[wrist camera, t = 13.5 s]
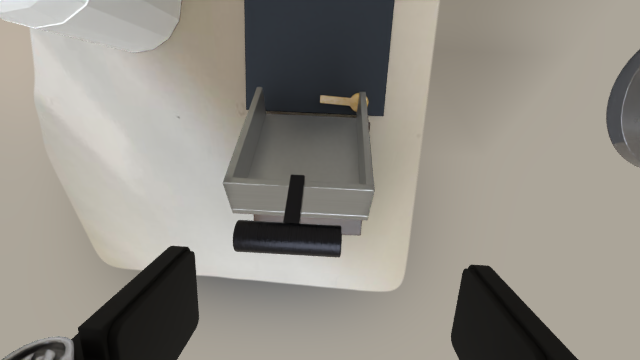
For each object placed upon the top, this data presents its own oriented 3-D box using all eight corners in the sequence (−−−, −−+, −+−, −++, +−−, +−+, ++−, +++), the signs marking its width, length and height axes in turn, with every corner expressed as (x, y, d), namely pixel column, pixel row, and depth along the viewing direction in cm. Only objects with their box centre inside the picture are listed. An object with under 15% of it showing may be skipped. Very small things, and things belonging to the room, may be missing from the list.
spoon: (369, 93, 39) (369, 93, 38) (366, 112, 39) (367, 113, 39) (321, 89, 39) (320, 89, 38) (319, 108, 39) (319, 108, 39)
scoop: (372, 292, 20) (388, 249, 16) (211, 283, 21) (184, 238, 16) (361, 122, 33) (368, 71, 29) (261, 117, 33) (253, 67, 29)
